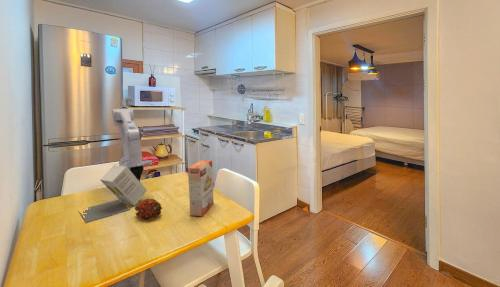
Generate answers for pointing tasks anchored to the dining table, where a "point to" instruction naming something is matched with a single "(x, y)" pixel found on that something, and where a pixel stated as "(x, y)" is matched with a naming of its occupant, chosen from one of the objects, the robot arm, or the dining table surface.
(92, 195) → the dining table surface
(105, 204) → the mat
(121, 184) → the supplement box
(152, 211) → the reddish-brown bumpy oval
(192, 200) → the cracker box
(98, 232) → the dining table surface
